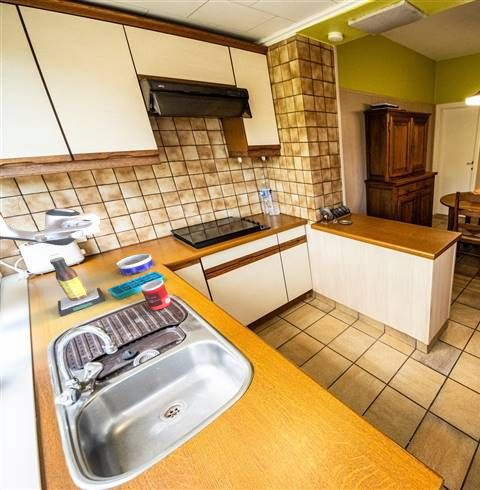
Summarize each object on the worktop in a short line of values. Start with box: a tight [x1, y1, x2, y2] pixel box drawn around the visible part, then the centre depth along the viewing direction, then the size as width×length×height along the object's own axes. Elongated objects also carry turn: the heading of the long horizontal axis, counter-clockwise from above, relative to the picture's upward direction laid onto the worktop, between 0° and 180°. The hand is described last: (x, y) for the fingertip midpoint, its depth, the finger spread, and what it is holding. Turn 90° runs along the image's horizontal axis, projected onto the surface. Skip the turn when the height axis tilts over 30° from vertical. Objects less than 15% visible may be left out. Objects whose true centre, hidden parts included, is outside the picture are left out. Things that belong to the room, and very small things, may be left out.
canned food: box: [141, 280, 172, 312], centre depth 114 cm, size 8×8×11 cm
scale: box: [57, 287, 105, 317], centre depth 121 cm, size 14×13×3 cm
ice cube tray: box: [107, 270, 165, 300], centre depth 131 cm, size 12×20×3 cm, turn 147°
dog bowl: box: [115, 253, 155, 276], centre depth 150 cm, size 15×15×6 cm
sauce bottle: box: [49, 256, 88, 301], centre depth 116 cm, size 6×6×20 cm
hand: (56, 238), depth 115 cm, fingers open, 8 cm apart
